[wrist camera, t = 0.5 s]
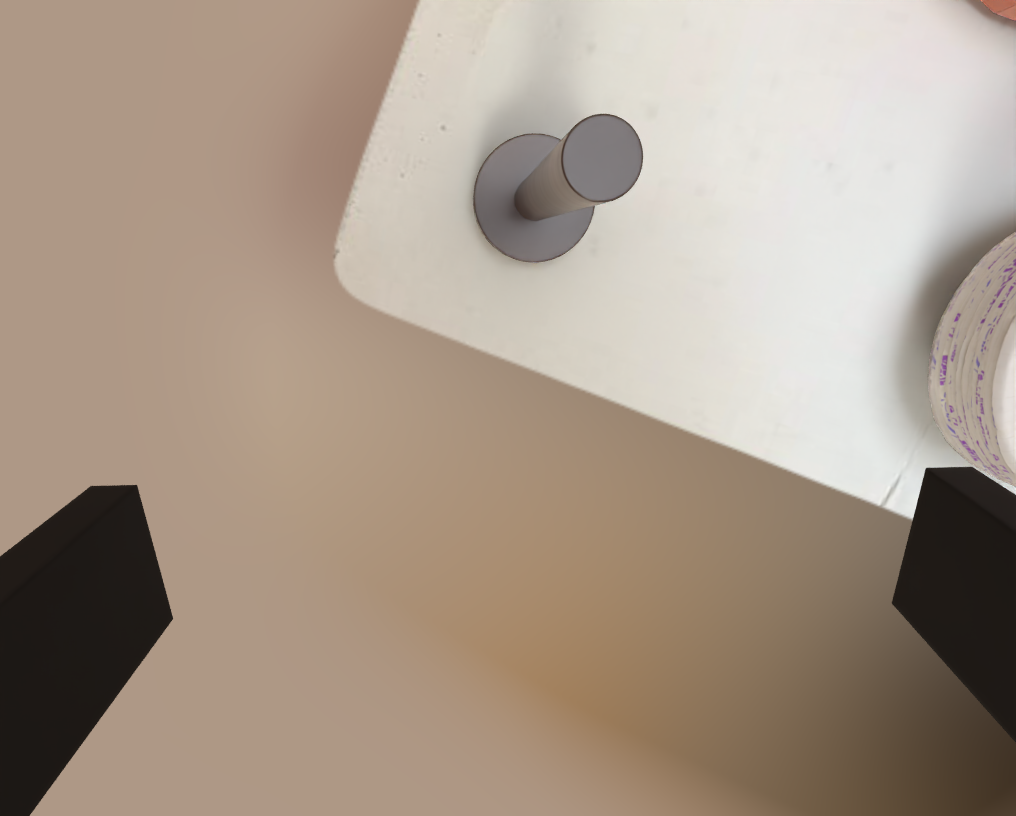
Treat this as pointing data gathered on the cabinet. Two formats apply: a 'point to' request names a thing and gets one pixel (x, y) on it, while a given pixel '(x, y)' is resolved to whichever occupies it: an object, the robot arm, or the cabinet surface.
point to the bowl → (1002, 7)
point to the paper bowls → (979, 365)
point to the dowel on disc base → (554, 186)
